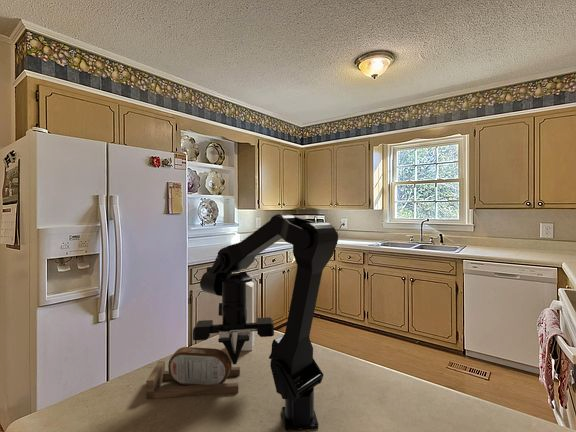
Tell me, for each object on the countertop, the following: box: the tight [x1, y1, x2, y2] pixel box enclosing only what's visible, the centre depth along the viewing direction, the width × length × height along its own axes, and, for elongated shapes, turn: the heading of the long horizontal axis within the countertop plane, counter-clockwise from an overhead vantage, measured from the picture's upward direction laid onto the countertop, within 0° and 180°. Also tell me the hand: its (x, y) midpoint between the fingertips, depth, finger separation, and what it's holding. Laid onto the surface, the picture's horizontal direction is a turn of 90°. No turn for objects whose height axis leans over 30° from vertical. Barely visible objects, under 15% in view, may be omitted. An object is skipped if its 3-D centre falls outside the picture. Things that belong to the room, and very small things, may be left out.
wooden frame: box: [145, 360, 241, 400], centre depth 74 cm, size 9×20×4 cm, turn 96°
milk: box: [233, 280, 255, 352], centre depth 95 cm, size 6×6×22 cm
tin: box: [167, 346, 233, 386], centre depth 74 cm, size 15×3×8 cm, turn 83°
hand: (234, 363), depth 75 cm, fingers closed
